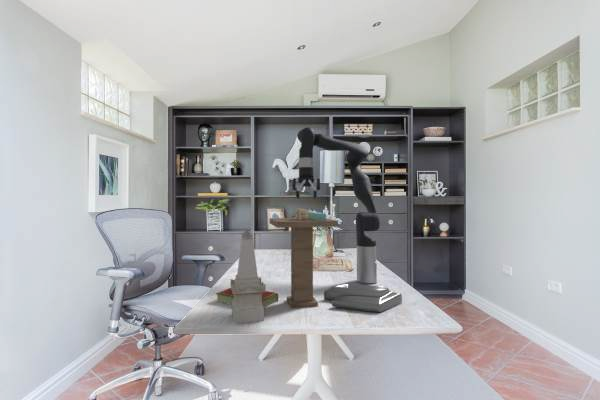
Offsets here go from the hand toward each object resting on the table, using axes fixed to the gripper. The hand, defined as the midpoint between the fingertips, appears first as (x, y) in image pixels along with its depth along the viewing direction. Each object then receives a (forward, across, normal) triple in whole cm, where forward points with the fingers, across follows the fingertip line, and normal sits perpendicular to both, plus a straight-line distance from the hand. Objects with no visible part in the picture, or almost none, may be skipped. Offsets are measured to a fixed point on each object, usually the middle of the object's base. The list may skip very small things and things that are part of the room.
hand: (306, 198), depth 178 cm
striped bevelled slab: (+41, -11, +47) cm, 64 cm away
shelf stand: (+40, +12, +44) cm, 61 cm away
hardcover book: (+41, +32, +38) cm, 64 cm away
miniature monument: (+41, +33, +56) cm, 77 cm away
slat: (+8, +6, +38) cm, 39 cm away
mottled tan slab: (+40, -17, -22) cm, 49 cm away
